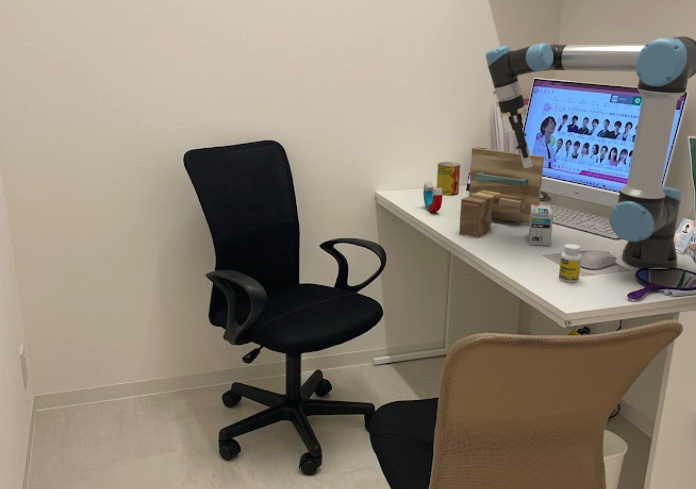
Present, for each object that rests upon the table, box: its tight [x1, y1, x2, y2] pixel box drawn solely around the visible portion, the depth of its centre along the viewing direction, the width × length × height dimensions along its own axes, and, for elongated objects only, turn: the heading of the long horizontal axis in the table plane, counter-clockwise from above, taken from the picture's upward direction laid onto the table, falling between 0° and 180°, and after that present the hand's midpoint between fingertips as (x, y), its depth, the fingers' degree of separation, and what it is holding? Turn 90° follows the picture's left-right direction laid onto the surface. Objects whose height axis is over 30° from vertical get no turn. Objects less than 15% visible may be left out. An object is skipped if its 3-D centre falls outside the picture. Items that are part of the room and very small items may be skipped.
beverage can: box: [436, 161, 461, 197], centre depth 285 cm, size 9×9×12 cm
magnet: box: [422, 181, 443, 213], centre depth 259 cm, size 12×3×10 cm, turn 16°
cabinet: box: [458, 190, 500, 239], centre depth 236 cm, size 16×7×12 cm, turn 144°
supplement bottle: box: [558, 243, 582, 283], centre depth 194 cm, size 5×5×10 cm
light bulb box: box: [528, 204, 554, 247], centre depth 226 cm, size 11×7×11 cm, turn 168°
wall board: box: [468, 147, 545, 225], centre depth 247 cm, size 11×26×24 cm, turn 54°
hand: (527, 162), depth 222 cm, fingers open, 13 cm apart
